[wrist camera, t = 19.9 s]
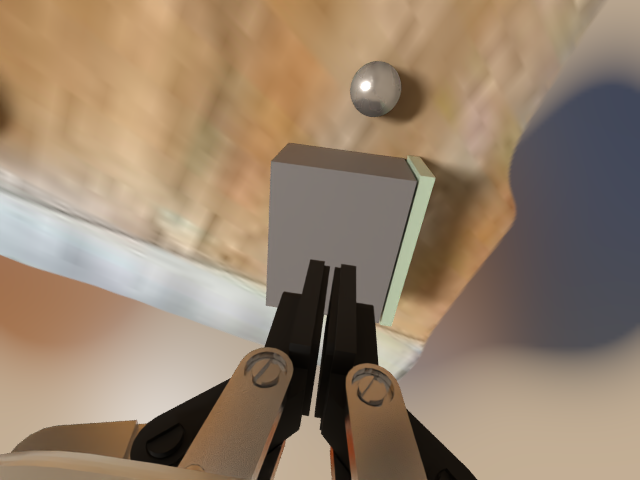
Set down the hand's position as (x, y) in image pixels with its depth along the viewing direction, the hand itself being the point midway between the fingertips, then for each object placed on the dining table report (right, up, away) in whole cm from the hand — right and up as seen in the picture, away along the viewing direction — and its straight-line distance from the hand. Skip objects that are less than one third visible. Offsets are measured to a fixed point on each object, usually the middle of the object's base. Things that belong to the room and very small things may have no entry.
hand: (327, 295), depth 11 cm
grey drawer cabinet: (+2, +5, +30) cm, 31 cm away
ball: (+6, +19, +23) cm, 30 cm away
